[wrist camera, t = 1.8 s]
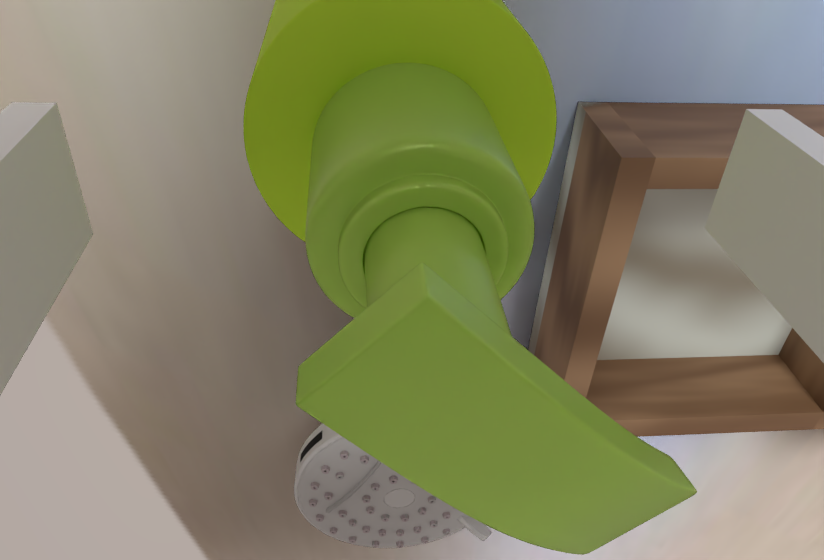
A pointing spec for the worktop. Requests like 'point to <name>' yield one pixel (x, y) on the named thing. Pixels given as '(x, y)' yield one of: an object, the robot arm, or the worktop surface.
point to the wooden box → (665, 281)
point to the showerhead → (369, 498)
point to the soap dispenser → (437, 261)
